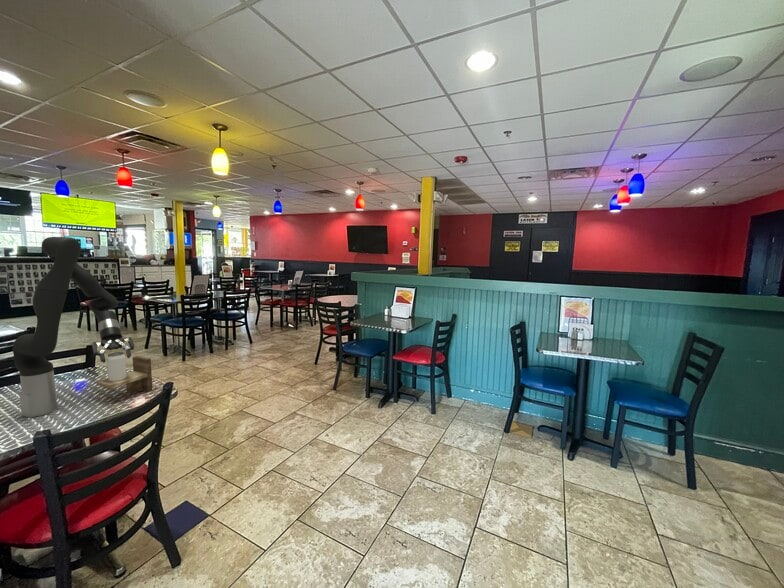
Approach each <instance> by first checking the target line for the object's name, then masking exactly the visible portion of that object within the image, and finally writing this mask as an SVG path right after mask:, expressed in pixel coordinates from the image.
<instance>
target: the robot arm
mask: <svg viewBox="0 0 784 588" xmlns="http://www.w3.org/2000/svg"><path fill="white" fill-rule="evenodd" d="M41 249H42V251H43V253H44V254H45V255H46V256H47V257H48V258H50V259H51V260H52V261H53V264H52V266H51V267H50V269H49V270H48V272H47V273H46V274H45V275H44V276H43V277H42V278H41V279H40V280H39V282H38V283H37V285H36V287H35V290H34V292H33V296H32V306H33V310H34V312H35V316H36V327H35V331H34V333H25V334H22V335H20V336H18V337H17V338H16V339H14V342H13V345H12V354H13V360H14V365H15V368H16V370H18V372H19V378H20V387H21V389H20V390H21V392H19V395H18V396H19V401H20V402H19V403H20V412H21V416H23V417H25V418H29V419H31V418H34V417H35V418H36V417H41V416H44V415H47V414H50V413H53V412H55V411H56V410H57V409H58V402H57V393H56V381H55V371H54V364H53V363H52V362H51V361H49V360H48V359H47V358H46V357H48V356H50V355H51V354H52V353H53V352H54V350H55V349H56V347H57V344H58V337H59V329H60V322H61V317H62V314H63V308H64V305H65V304H66V303H65V302H66V299H67V296H68V295H67V294H68V290H69V286H70V282H71V279H72V280H73V282H75V285H77V286H78V288H79V289H80V290H81V291H82V293H83V294H84V295H85V296H86V297H88V298H93V299H90V300H89V302H88V308H89V310H90V311H91V312H93V315H94V316H95V318H96V321H97V324H98V327H97V328H98V333H99V338H100V342H96V341H93V342H92V352H93V356H94V357H96V356H99V359H100V362H102V363H104V364H105V363H106V362H107V359H106V356H105V354H106V352H108V351H113V350H119V349H120V350H122V351H125V354H126V355H125V356H126V358H127V359H130V358H131V356H132V351H134V349H135V344H134V341H133V338H132V337H131V336H129V337H127V338H123V334H122V331H121V327H120V324H119V322H118V318H117V314H116V312H115V311H113V310H114V309H115V308H117V307H118V305H119V301H118V300H117V297H115V296H114V295H113V294H111V293H110V292H109V291H108V290H106V289H105V288H104V287H103V286H102V285H101V284H100V282H99V281H98V279H97V277H95V276H94V275H93V274H92V273H91V272H89V271H88V270H87V269H85V268H84V267H83V266H81V264H79V263H78V260H79V258H80V255H81V252H82V246H81V243H80V241H79V240H77V239H76V238H74V237H69V236H50V237H49V236H48V237H46V238H44V239H43V240H42V242H41ZM94 297H96V298H94ZM112 309H113V310H112ZM127 344H128V345H129V346H128V345H127ZM100 346H101V347H102V349H101V350H100V351H98V348H99V347H100Z"/></svg>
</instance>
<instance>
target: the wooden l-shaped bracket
mask: <svg viewBox="0 0 784 588" xmlns="http://www.w3.org/2000/svg"><path fill="white" fill-rule="evenodd" d="M152 377H153V373H152V360H151V358H149V357H143V356H138V355H136V356H132V371H129V372H127V377H126V378H125V379H124V380H120V381H115V382H111V381H109V380H108V378H105V379H101V380H98V381H96V386H99V387H102V388H107V389H114V388H117V387H121V386H122V385H123V386H124V385H125V387H126V395H128V396H130V395H132V393H133V394H135V393H138V392H141V391H144V392H148V391H149V392H151V391H153V390H154V389H153V378H152ZM140 390H141V391H140ZM150 390H151V391H150Z"/></svg>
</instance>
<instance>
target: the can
mask: <svg viewBox="0 0 784 588" xmlns="http://www.w3.org/2000/svg"><path fill="white" fill-rule="evenodd" d="M106 368H107V379H108V380H109V381H111V382H115V381H120V380H124V379H125V378H126V377H127V373H128V372H127V360H126V355H125V352H123V351H122V352H121V351H120V352H119V351H118V352H112V353H109V354H107V357H106Z"/></svg>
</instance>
